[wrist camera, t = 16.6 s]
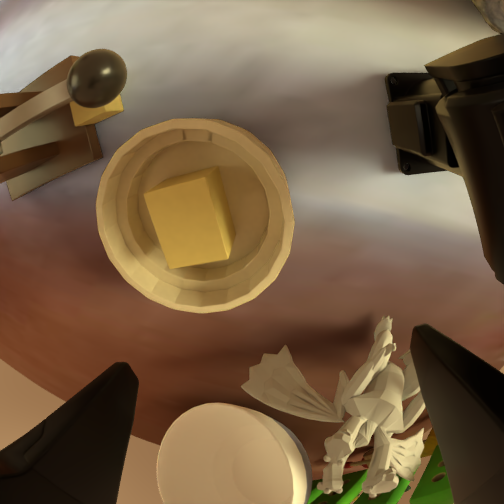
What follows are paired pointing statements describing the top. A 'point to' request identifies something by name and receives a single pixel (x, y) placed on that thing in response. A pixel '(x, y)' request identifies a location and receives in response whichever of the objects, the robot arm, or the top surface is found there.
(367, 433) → the fairy figurine
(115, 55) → the lever
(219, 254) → the butter pat
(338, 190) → the top surface
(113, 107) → the butter stick
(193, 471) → the cream short round cylinder
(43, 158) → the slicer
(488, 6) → the stone
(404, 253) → the top surface
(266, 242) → the dish
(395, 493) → the toy garden set
